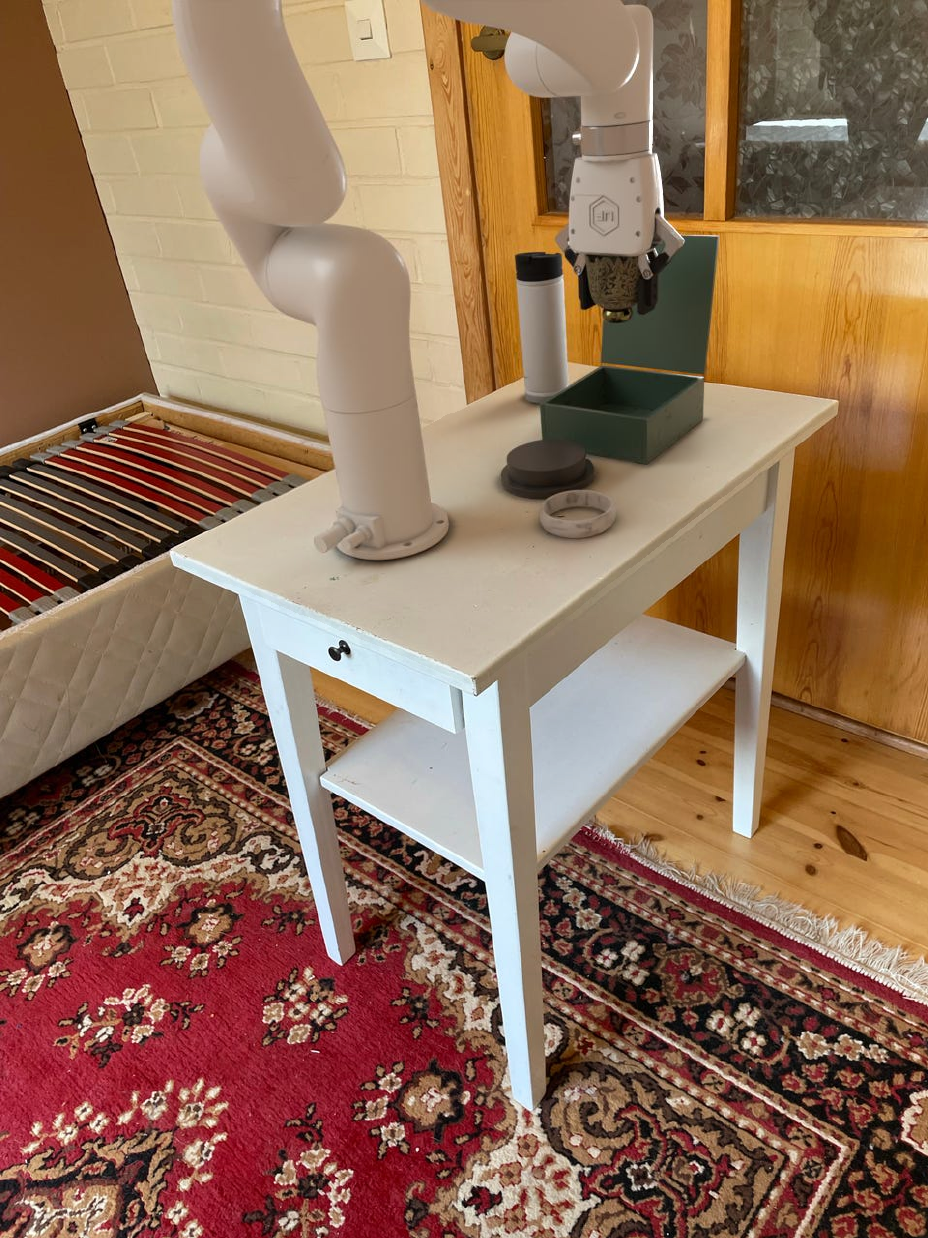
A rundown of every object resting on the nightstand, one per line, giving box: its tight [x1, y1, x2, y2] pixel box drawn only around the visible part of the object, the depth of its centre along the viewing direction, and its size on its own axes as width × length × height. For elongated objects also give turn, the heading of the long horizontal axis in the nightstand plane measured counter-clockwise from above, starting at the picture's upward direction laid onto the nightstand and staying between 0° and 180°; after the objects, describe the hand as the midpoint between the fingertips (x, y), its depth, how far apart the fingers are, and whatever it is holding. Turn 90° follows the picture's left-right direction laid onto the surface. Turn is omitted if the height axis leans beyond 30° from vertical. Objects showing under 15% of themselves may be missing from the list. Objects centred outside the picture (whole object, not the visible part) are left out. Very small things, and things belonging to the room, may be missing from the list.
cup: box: [585, 253, 649, 323], centre depth 109 cm, size 8×7×8 cm
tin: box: [539, 364, 705, 465], centre depth 118 cm, size 15×15×6 cm
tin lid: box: [600, 234, 720, 375], centre depth 118 cm, size 16×15×1 cm
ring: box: [538, 489, 617, 539], centre depth 100 cm, size 8×8×2 cm
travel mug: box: [514, 251, 570, 405], centre depth 128 cm, size 6×7×20 cm
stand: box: [499, 439, 596, 500], centre depth 109 cm, size 11×11×3 cm
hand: (617, 308), depth 111 cm, fingers closed on cup, 7 cm apart
